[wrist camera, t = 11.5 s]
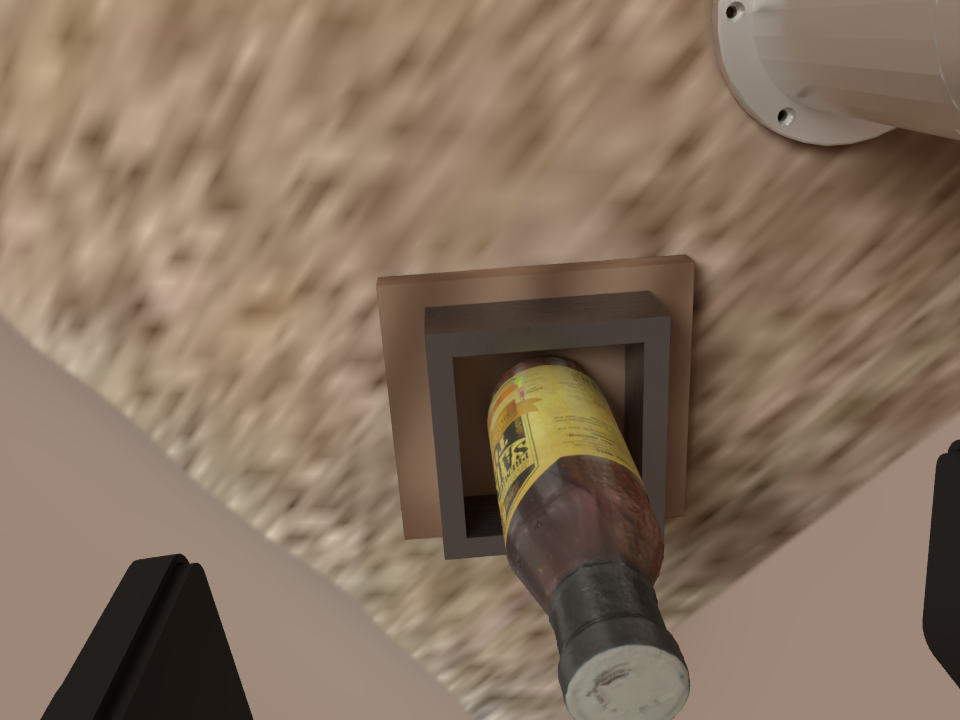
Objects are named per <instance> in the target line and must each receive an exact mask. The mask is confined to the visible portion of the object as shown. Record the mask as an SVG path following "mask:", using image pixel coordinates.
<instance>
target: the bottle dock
mask: <svg viewBox="0 0 960 720" xmlns="http://www.w3.org/2000/svg"><path fill="white" fill-rule="evenodd" d="M694 268H695V262H694V261H693V260H692V259H691V258H689V257H688V256H687V255H673V256H659V257H646V258H633V259H619V260H606V261H592V262H579V263H565V264H552V265H539V266H525V267H512V268H498V269H485V270H471V271H458V272H445V273H431V274H418V275H404V276H391V277H378V279H377V284H376V289H377V298H378V307H379V316H380V324H381V333H382V342H383V351H384V360H385V369H386V378H387V386H388V395H389V404H390V413H391V422H392V431H393V439H394V448H395V457H396V466H397V475H398V484H399V492H400V501H401V510H402V519H403V528H404V537H405V540H408V539H420V538H432V537H443V544H444V555H445V560H449V559H461V558H472V557H484V556H496V555H507V554H506V548H505V542H504V536H503V529H502V521H501V515H500V508H499V503H498V495H497V491H496V481H495V475H494V469H493V461H492V454H491V448H490V440H489V434H488V426H487V418H488V411H489V407H490V403H489V401H490V399H491V396H492V393H493V390H494V388H495V386H496V384H497V382H498V381H499V379H500V377H501V376H502V375H503V374H504V372H506V371H507V370H508V369H510V368H511V367H512V366H514V365H515V364H516V363H518V362H520V361H523V360H525V359H527V358H531V357H535V356H547V355H551V356H556V357H563V358H565V359H568V360H571V361H574V362H575V363H577V364H579V365H580V366H581V367H582V368H583V369H584V370H585V371H586V373H588V374H589V376H590V377H591V378H592V379H593V380H594V382H595V383H596V384H597V385H598V387H599V388H600V390H601V391H602V393H603V395H604V397H605V399H606V401H607V403H608V405H609V408H610V410H611V412H612V414H613V417H614V419H615V421H616V423H617V425H618V428H619V430H620V432H621V434H622V437H623V439H624V441H625V443H626V446H627V448H628V450H629V452H630V455H631V457H632V459H633V461H634V464H635V466H636V468H637V470H638V472H639V475H640V477H641V479H642V482H643V484H644V486H645V488H646V491H647V493H648V497H649V501H650V507H651V509H652V511H653V513H654V515H655V517H656V520H657V522H658V524H659V527H660V529H661V537H662V540H663V541H664V518H668V517H680V516H684V511H685V486H686V462H687V438H688V414H689V389H690V365H691V341H692V317H693V292H694Z"/></svg>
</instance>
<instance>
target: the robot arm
mask: <svg viewBox="0 0 960 720" xmlns="http://www.w3.org/2000/svg"><path fill="white" fill-rule="evenodd" d="M729 6H731V7H732V8H733V10H734V14H733V16H732V17H731V18H728V17H727V16H726V10H727V8H728V7H729ZM712 30H713V42H714V49H715V53H716V56H717V60H718V64H719V67H720V71H721V73H722V75H723V77H724V79H725V81H726V83H727V85H728V87H729V89H730V91H731V93H732V95H733V96H734V97H735V99H736V100H737V101H738V102H739V103H740V105H741V106H742V107H743V108H744V110H745V111H746V112H747V113H748V114H749V115H750V116H752V117H753V118H754V119H755V120H757V121H758V122H759V123H760V124H762V125H763V126H764V127H766V128H768V129H770V130H772V131H774V132H776V133H778V134H780V135H782V136H784V137H786V138H790V139H794V140H797V141H800V142H803V143H810V144H817V145H825V146H831V145H846V144H853V143H857V142H861V141H865V140H869V139H872V138H876V137H878V136H880V135H882V134H884V133H887V132H889V131H891V130H893V129H895V128H897V127H898V128H902V129H907V130H912V131H917V132H921V133H926V134H931V135H936V136H940V137H945V138H950V139H954V140H959V141H960V0H713V11H712ZM781 110H782V111H783V112H784V116H783V118H782V119H781V120H778V118H777V117H778V114H779V112H780V111H781ZM923 632H924V636H925V639H926V642H927V644H928V647H929V649H930V650H931V652H932V653H933V655H934V656H935V657H936V659H937V660H938V661H939V663H940V664H941V665H942V667H943V668H944V669H945V670H946V672H947V673H948V674H949V675H950V677H951V678H952V679H953V680H954V682H955V683H956V684H957V686H958V687H959V688H960V440H956V441H955V442H953V443H952V444H951V446H950V447H949V449H948V453H945V454H942V455H940V457H939V458H938V460H937V464H936V474H935V484H934V496H933V507H932V519H931V530H930V541H929V553H928V565H927V576H926V587H925V598H924V610H923ZM40 720H253V717H252V714H251V711H250V708H249V705H248V702H247V699H246V696H245V693H244V690H243V687H242V684H241V681H240V678H239V675H238V672H237V669H236V666H235V663H234V659H233V656H232V653H231V650H230V647H229V645H228V641H227V638H226V635H225V632H224V629H223V626H222V623H221V620H220V617H219V614H218V611H217V608H216V605H215V602H214V599H213V596H212V593H211V590H210V587H209V584H208V581H207V578H206V575H205V572H204V570H203V568H202V566H201V565H200V564H199V563H192V564H189V562H188V560H187V559H186V557H185V556H184V555H182V554H173V555H167V556H160V557H153V558H146V559H139V560H136V561H134V562H133V563H132V564H131V565H130V566H129V568H128V570H127V571H126V573H125V575H124V577H123V578H122V580H121V582H120V584H119V585H118V587H117V589H116V591H115V592H114V594H113V596H112V598H111V599H110V602H109V603H108V605H107V607H106V608H105V610H104V612H103V613H102V616H101V617H100V619H99V620H98V622H97V624H96V626H95V628H94V629H93V631H92V633H91V634H90V637H89V638H88V640H87V641H86V643H85V645H84V647H83V649H82V650H81V652H80V654H79V656H78V657H77V659H76V661H75V663H74V664H73V666H72V668H71V670H70V671H69V674H68V675H67V677H66V678H65V680H64V682H63V684H62V685H61V687H60V688H59V689H58V690H57V692H56V693H55V695H54V697H53V698H52V700H51V702H50V704H49V706H48V707H47V709H46V711H45V712H44V714H43V716H42V718H41V719H40Z"/></svg>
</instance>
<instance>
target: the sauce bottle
mask: <svg viewBox="0 0 960 720" xmlns="http://www.w3.org/2000/svg"><path fill="white" fill-rule="evenodd" d="M489 403H490V407H489V411H488V418H487V426H488V434H489V440H490V448H491V454H492V461H493V469H494V475H495V481H496V491H497V495H498V503H499V508H500V515H501V521H502V529H503V536H504V542H505V548H506V554H507V559H508V562H509V564H510V566H511V568H512V570H513V571H514V572H515V574H516V575H517V576H518V578H519V579H520V580H521V581H522V583H523V584H524V585H525V587H526V588H527V589H528V590H529V592H530V593H531V594H532V596H533V597H534V598H535V599H536V601H537V602H538V603H539V605H540V606H541V607H542V608H543V610H544V611H545V612H546V613H547V615H548V616H549V621H550V623H551V626H552V628H553V630H554V631H555V636H556V640H557V646H558V650H559V654H560V661H559V664H558V679H559V683H560V686H561V690H562V692H563V697H564V702H565V705H566V707H567V709H568V711H569V714H570V715H571V716H572V717H573V719H574V720H672V719H674V717H675V716H676V715H677V713H679V712H680V711H681V709H682V708H683V706H684V704H685V702H686V700H687V698H688V696H689V692H690V679H689V672H688V668H687V666H686V663H685V661H684V657H683V655H682V653H681V651H680V649H679V646H678V644H677V642H676V641H675V639H674V638H673V636H672V635H671V633H670V632H669V631H668V630H667V629H666V627H665V624H664V621H663V619H662V617H661V614H660V611H659V609H658V606H657V604H658V601H657V598H656V594H655V590H654V588H653V586H654V584H655V581H656V580H657V578H658V576H659V572H660V569H661V564H662V561H663V559H664V543H663V540H662V537H661V529H660V527H659V524H658V522H657V520H656V517H655V515H654V513H653V511H652V509H651V507H650V501H649V497H648V493H647V491H646V488H645V486H644V484H643V482H642V479H641V477H640V475H639V472H638V470H637V468H636V466H635V464H634V461H633V459H632V457H631V455H630V452H629V450H628V448H627V446H626V443H625V441H624V439H623V437H622V434H621V432H620V430H619V428H618V425H617V423H616V421H615V419H614V417H613V414H612V412H611V410H610V408H609V405H608V403H607V401H606V399H605V397H604V395H603V393H602V391H601V390H600V388H599V387H598V385H597V384H596V383H595V382H594V380H593V379H592V378H591V377H590V376H589V374H588V373H586V371H585V370H584V369H583V368H582V367H581V366H580V365H579V364H577V363H575V362H574V361H571V360H568V359H565V358H563V357H556V356H551V355H547V356H535V357H531V358H527V359H525V360H523V361H520V362H518V363H516V364H515V365H514V366H512V367H511V368H510V369H508V370H507V371H506V372H504V374H503V375H502V376H501V377H500V379H499V381H498V382H497V384H496V386H495V388H494V390H493V393H492V396H491V399H490V401H489Z"/></svg>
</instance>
